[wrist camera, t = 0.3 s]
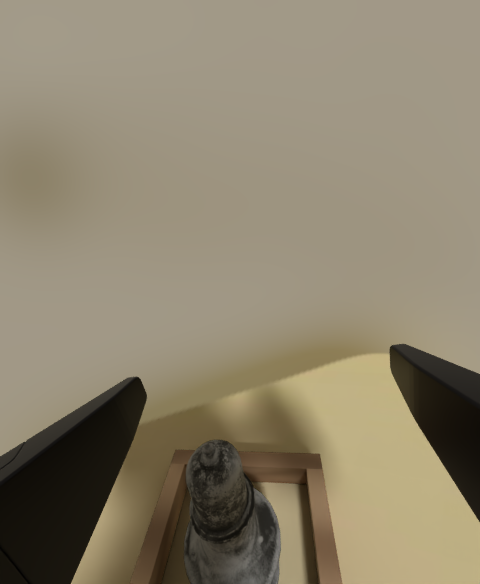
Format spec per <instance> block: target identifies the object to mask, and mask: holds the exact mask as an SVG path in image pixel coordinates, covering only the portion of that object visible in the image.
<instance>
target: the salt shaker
mask: <svg viewBox="0 0 480 584" xmlns="http://www.w3.org/2000/svg"><path fill="white" fill-rule="evenodd" d="M186 484H187V488H188V491H189V494H190V497H191V501H190V513H189V514H190V519H191V520H190V522H189V524H188V527H187V532H186V536H185V540H184V562H185V567H186V573H187V576H188V578H189V581H190V583H191V584H278V580H279V557H280V551H281V539H280V529H279V524H278V520H277V516H276V514H275V512H274V510H273V508H272V506H271V504H270V503H269V501H268V500H267V499H266V498H265V496H264V495H263V494H262V493H260V492H259V491H258V490H256V489H255V488H253V485H252V483H251V481H250V479H249V478H248V476H247V475H246V474H245V473H244V472H243V467H242V462H241V458H240V456H239V453H238V451H237V450H236V448H235V447H234V446H233V445H232V444H230V443H229V442H227V441H223V440H212V441H208V442H206V443H204V444H202V445H201V446H200V447H199V448H197V449H196V451H195V452H194V453H193V454H192V456H191V457H190V459H189V461H188V464H187V467H186Z"/></svg>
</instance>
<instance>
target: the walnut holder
mask: <svg viewBox="0 0 480 584" xmlns="http://www.w3.org/2000/svg"><path fill="white" fill-rule="evenodd" d="M195 451H196V450H175V453H174V456H173V459H172V462H171V465H170V468H169V471H168V473H167V476H166V479H165V482H164V485H163V488H162V491H161V494H160V497H159V500H158V502H157V505H156V508H155V511H154V514H153V517H152V520H151V523H150V526H149V528H148V531H147V534H146V537H145V540H144V543H143V546H142V549H141V552H140V555H139V557H138V560H137V563H136V566H135V569H134V572H133V575H132V578H131V581H130V584H161V582H162V579H163V575H164V571H165V567H166V564H167V560H168V556H169V552H170V549H171V545H172V541H173V537H174V534H175V530H176V526H177V523H178V519H179V515H180V511H181V508H182V504H183V500H184V496H185V493H186V489H187V484H186V467H187V464H188V461H189V459H190V457H191V456H192V454H193V453H194V452H195ZM238 453H239V456H240V458H241V462H242V467H243V472H244V473H245V474H246V475H247V476H248V478H249V479H250V481H253V482H275V483H297V484H307V489H308V497H309V506H310V515H311V523H312V532H313V541H314V549H315V558H316V567H317V575H318V584H342V579H341V573H340V568H339V562H338V556H337V550H336V545H335V539H334V533H333V527H332V522H331V516H330V510H329V504H328V498H327V493H326V487H325V481H324V475H323V470H322V464H321V458H320V454H308V453H273V452H238Z"/></svg>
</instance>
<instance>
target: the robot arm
mask: <svg viewBox="0 0 480 584" xmlns="http://www.w3.org/2000/svg"><path fill="white" fill-rule="evenodd" d="M390 368H391V372H392V375H393V377H394V379H395V381H396V383H397V385H398V387H399V389H400V391H401V393H402V395H403V397H404V399H405V401H406V403H407V405H408V407H409V409H410V411H411V413H412V415H413V417H414V419H415V421H416V422H417V424H418V426H419V427H420V429H421V430H422V432H423V434H424V435H425V437H426V438H427V440H428V441H429V443H430V445H431V446H432V448H433V449H434V451H435V452H436V454H437V456H438V457H439V459H440V460H441V462H442V463H443V465H444V467H445V468H446V470H447V471H448V473H449V475H450V476H451V478H452V479H453V481H454V482H455V484H456V486H457V487H458V489H459V490H460V492H461V493H462V495H463V497H464V498H465V500H466V501H467V503H468V504H469V506H470V508H471V509H472V511H473V512H474V514H475V516H476V517H477V519H478V520H479V522H480V374H478V373H476V372H473V371H471V370H468V369H466V368H463V367H461V366H458V365H456V364H453V363H451V362H448V361H446V360H443V359H441V358H438V357H436V356H434V355H431V354H429V353H426V352H424V351H421V350H418V349H416V348H414V347H411V346H409V345H406V344H399V345H392V346H391V347H390ZM146 399H147V394H146V392H145V389H144V386H143V384H142V382H141V379H140V378H139V377H130V378H127V379H125V380H123V381H122V382H120V383H118V384H117V385H115V386H114V387H112V388H110V389H109V390H107V391H106V392H104V393H102V394H101V395H99V396H98V397H96V398H94V399H93V400H91V401H89V402H88V403H86V404H85V405H83V406H81V407H80V408H78V409H76V410H75V411H73V412H72V413H70V414H68V415H67V416H65V417H64V418H62V419H61V420H59V421H57V422H55V423H54V424H52V425H51V426H49V427H48V428H46V429H44V430H43V431H41V432H39V433H38V434H36V435H35V436H33V437H31V438H30V439H28V440H27V441H26V442H23V443H21V444H20V445H18V446H17V447H15V448H13V449H12V450H10V451H9V452H7V453H6V454H4V455H2V456H0V584H71V582H72V580H73V577H74V575H75V573H76V571H77V568H78V566H79V564H80V561H81V559H82V557H83V554H84V552H85V550H86V547H87V545H88V543H89V541H90V538H91V536H92V534H93V531H94V529H95V527H96V524H97V522H98V520H99V518H100V515H101V513H102V511H103V508H104V506H105V504H106V501H107V499H108V497H109V494H110V492H111V490H112V488H113V485H114V483H115V481H116V478H117V476H118V474H119V471H120V469H121V467H122V465H123V462H124V460H125V458H126V455H127V453H128V451H129V448H130V446H131V444H132V441H133V439H134V436H135V433H136V430H137V427H138V424H139V421H140V418H141V415H142V412H143V409H144V406H145V403H146Z"/></svg>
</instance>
